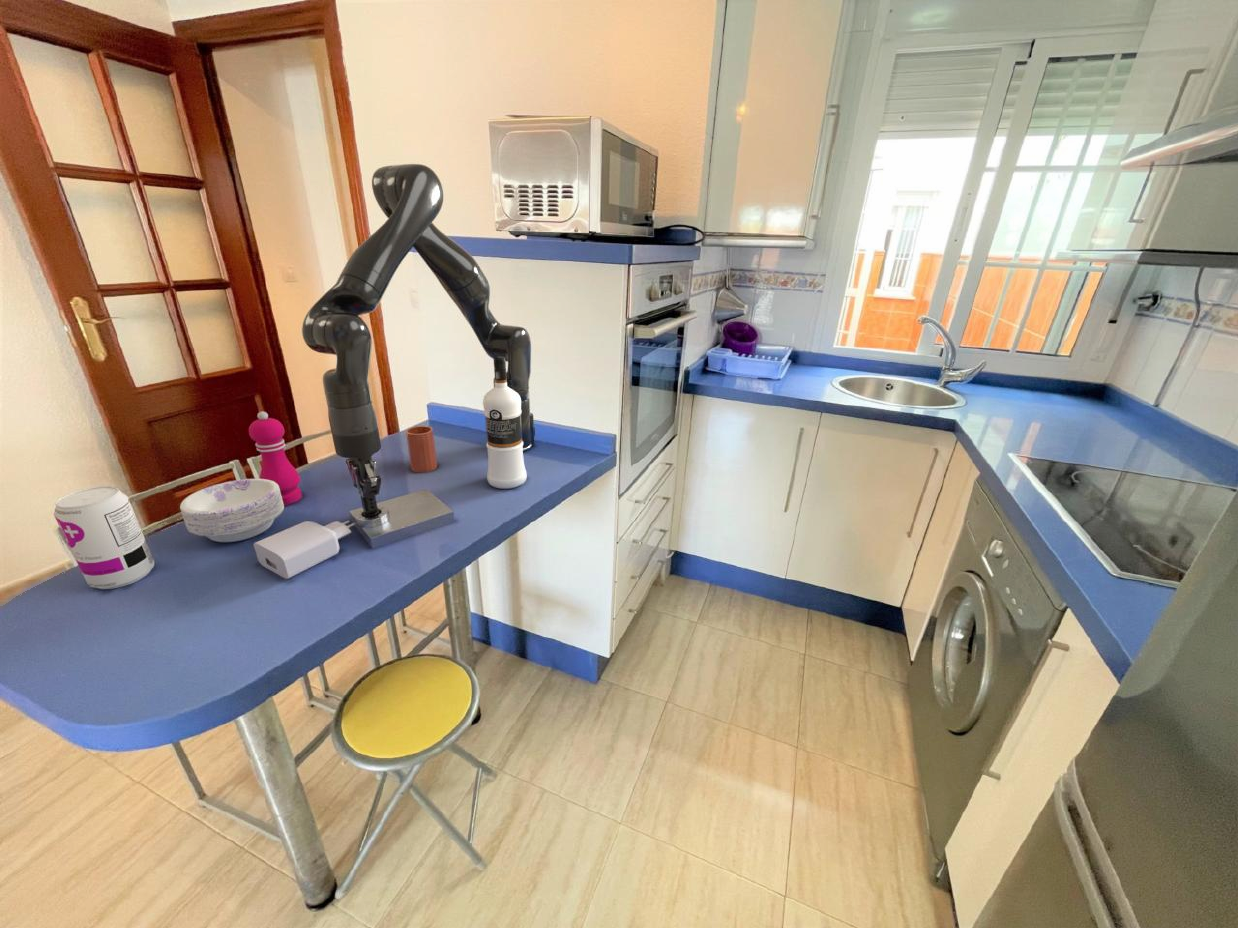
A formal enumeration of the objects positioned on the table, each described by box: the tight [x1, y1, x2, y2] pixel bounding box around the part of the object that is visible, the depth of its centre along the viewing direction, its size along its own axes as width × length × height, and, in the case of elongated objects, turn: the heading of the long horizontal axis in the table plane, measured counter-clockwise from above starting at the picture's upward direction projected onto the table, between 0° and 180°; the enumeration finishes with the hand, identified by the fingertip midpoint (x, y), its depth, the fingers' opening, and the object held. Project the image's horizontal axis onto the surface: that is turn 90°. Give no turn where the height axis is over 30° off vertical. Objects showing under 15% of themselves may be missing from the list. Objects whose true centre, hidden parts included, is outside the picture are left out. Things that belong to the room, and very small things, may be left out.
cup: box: [405, 425, 438, 473], centre depth 124 cm, size 6×6×10 cm
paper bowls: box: [179, 478, 285, 543], centre depth 96 cm, size 15×15×8 cm
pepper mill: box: [248, 411, 303, 506], centre depth 105 cm, size 7×7×20 cm
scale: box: [348, 488, 455, 550], centre depth 101 cm, size 16×13×4 cm
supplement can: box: [53, 485, 155, 590], centre depth 80 cm, size 8×8×15 cm
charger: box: [253, 519, 355, 580], centre depth 91 cm, size 5×9×15 cm
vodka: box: [482, 357, 528, 490], centre depth 114 cm, size 9×9×30 cm
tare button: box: [363, 508, 380, 518], centre depth 97 cm, size 3×3×2 cm
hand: (370, 511), depth 97 cm, fingers closed
